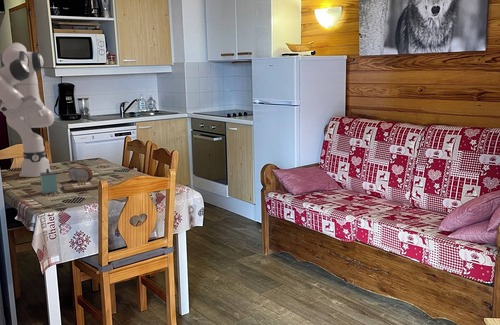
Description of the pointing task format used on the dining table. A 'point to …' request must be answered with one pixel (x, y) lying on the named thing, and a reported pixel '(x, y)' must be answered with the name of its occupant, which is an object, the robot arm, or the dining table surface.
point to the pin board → (80, 186)
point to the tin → (80, 173)
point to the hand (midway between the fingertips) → (34, 118)
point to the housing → (48, 182)
